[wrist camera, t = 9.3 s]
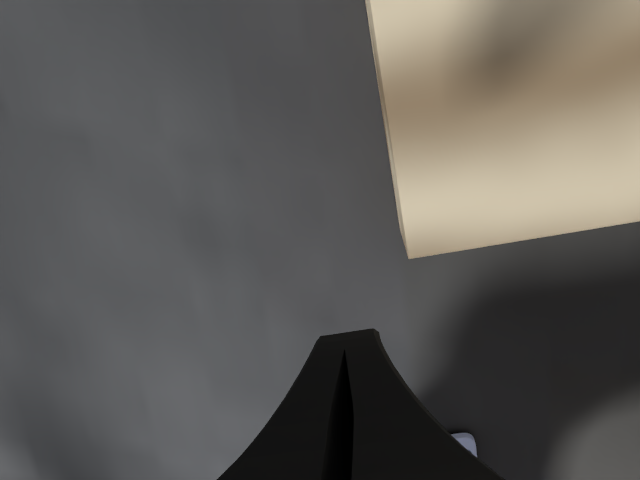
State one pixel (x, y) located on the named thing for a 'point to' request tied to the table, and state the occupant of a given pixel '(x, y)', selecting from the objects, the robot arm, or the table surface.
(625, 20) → the beige piece
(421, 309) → the table surface
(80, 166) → the table surface
